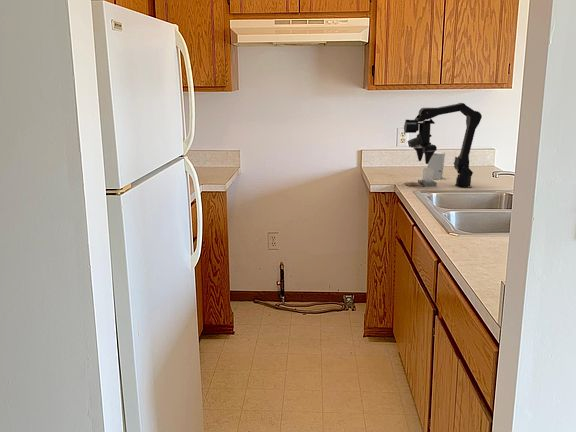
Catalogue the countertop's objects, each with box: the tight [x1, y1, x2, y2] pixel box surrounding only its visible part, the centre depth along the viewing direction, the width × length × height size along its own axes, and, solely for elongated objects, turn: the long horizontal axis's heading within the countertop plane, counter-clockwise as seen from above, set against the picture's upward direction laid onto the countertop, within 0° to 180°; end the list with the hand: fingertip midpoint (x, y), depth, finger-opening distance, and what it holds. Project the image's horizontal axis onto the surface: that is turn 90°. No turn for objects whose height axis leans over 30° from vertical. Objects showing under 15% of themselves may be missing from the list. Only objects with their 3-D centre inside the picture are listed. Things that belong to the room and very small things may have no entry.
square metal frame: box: [417, 179, 438, 187], centre depth 300 cm, size 7×8×2 cm
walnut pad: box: [403, 181, 423, 187], centre depth 299 cm, size 7×7×1 cm
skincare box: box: [427, 151, 446, 180], centre depth 318 cm, size 8×6×15 cm
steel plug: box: [421, 167, 434, 182], centre depth 299 cm, size 4×4×9 cm
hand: (423, 162), depth 294 cm, fingers open, 9 cm apart
